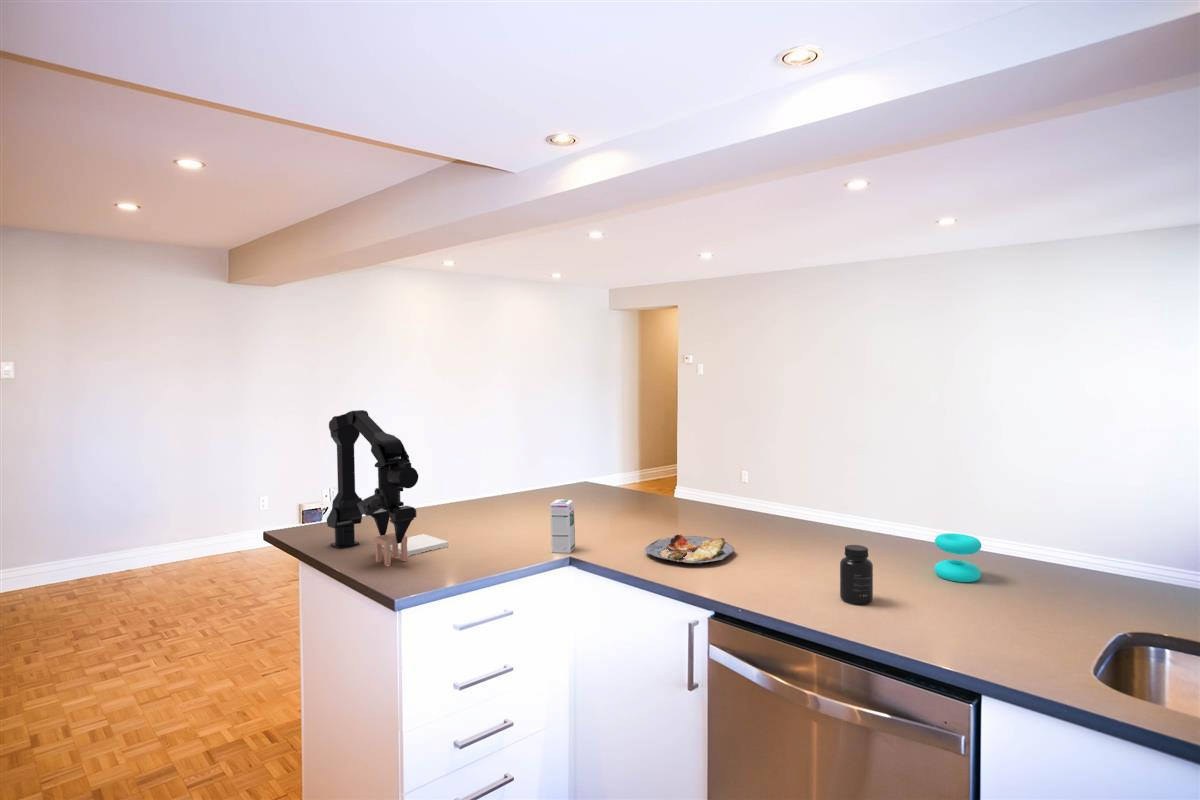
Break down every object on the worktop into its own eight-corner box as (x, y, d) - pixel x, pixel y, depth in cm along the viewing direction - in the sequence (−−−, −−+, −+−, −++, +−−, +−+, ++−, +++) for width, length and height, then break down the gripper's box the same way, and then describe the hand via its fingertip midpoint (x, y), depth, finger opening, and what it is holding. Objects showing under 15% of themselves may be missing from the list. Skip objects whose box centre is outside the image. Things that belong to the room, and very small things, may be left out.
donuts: (990, 542, 152) (947, 542, 152) (989, 583, 152) (947, 584, 152) (967, 531, 162) (927, 532, 162) (966, 570, 162) (927, 571, 162)
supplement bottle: (834, 595, 146) (834, 543, 145) (863, 594, 146) (863, 542, 146) (848, 606, 139) (848, 552, 138) (878, 605, 139) (879, 550, 139)
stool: (375, 561, 177) (374, 536, 177) (396, 556, 182) (395, 532, 181) (386, 566, 173) (385, 540, 172) (408, 561, 177) (407, 536, 177)
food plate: (670, 538, 197) (670, 527, 197) (744, 549, 185) (744, 537, 185) (633, 561, 175) (632, 549, 175) (713, 575, 164) (713, 562, 163)
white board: (382, 547, 191) (382, 543, 191) (424, 538, 201) (423, 534, 201) (406, 556, 182) (406, 551, 181) (448, 546, 192) (448, 541, 192)
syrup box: (570, 553, 182) (569, 503, 182) (550, 552, 184) (549, 502, 183) (575, 548, 188) (574, 499, 187) (556, 547, 189) (555, 498, 189)
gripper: (345, 484, 177) (347, 540, 178) (377, 492, 164) (379, 552, 165) (383, 479, 185) (384, 532, 186) (416, 486, 172) (418, 543, 173)
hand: (390, 540), depth 177 cm, fingers open, 9 cm apart
